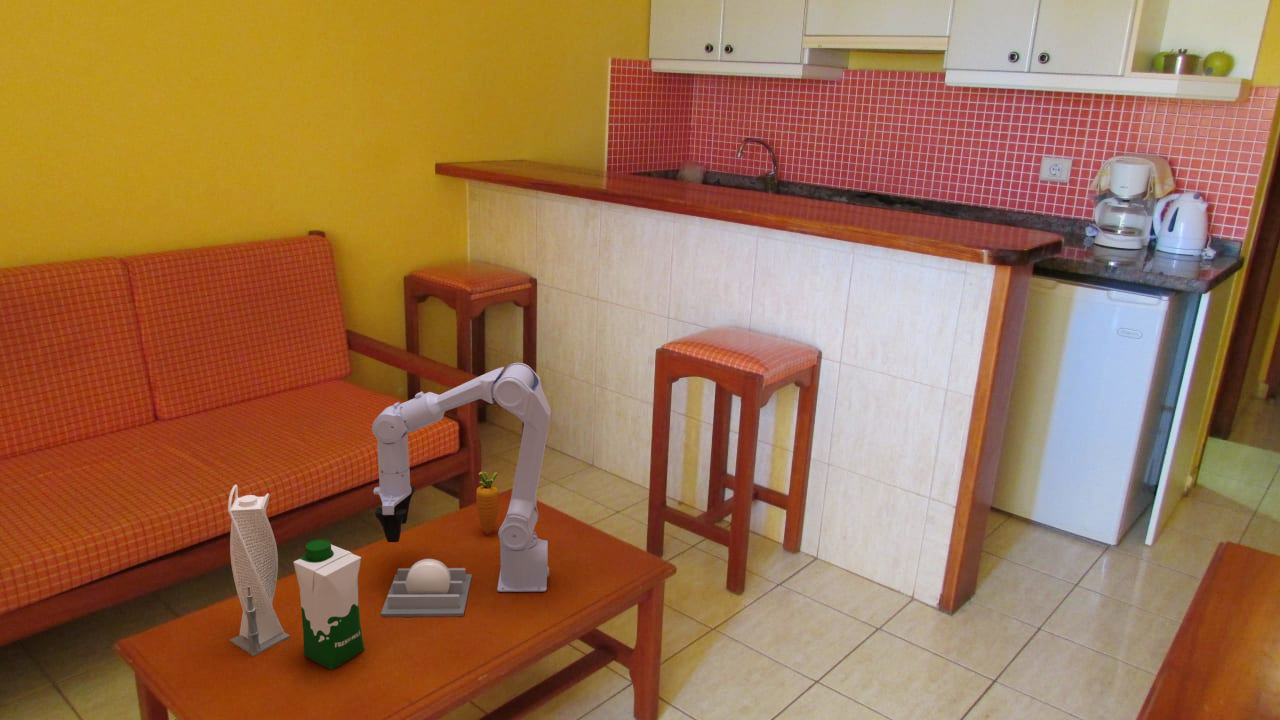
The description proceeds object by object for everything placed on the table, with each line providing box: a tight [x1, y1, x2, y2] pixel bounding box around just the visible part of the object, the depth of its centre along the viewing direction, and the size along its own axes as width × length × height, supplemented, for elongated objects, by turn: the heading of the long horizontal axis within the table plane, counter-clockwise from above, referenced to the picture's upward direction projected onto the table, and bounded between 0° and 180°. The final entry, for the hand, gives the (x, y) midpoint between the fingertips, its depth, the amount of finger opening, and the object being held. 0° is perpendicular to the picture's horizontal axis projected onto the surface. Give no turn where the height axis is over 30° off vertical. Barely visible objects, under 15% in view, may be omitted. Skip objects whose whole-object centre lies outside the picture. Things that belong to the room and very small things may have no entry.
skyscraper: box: [227, 483, 291, 657], centre depth 153 cm, size 8×8×28 cm
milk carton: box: [293, 538, 365, 671], centre depth 150 cm, size 9×9×20 cm
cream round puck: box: [406, 558, 451, 595], centre depth 168 cm, size 8×2×8 cm, turn 94°
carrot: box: [475, 471, 500, 535], centre depth 194 cm, size 5×5×15 cm
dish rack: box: [380, 567, 473, 618], centre depth 171 cm, size 15×14×3 cm
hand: (397, 532), depth 176 cm, fingers open, 7 cm apart
